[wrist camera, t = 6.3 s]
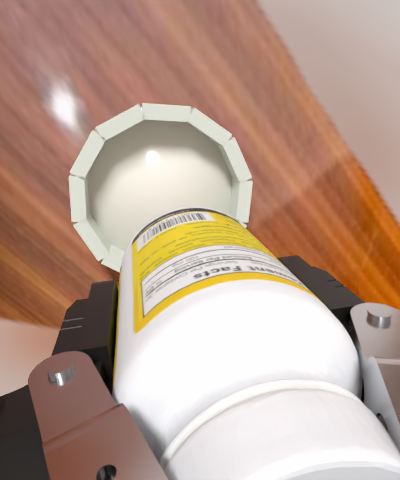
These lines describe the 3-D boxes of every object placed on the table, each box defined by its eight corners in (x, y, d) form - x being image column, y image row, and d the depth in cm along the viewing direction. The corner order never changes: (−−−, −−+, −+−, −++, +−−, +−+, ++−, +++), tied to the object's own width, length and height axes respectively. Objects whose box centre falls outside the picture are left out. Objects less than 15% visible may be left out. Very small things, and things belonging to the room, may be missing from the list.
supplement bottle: (214, 344, 15) (334, 688, 6) (96, 299, 13) (19, 684, 4) (281, 240, 14) (554, 471, 5) (161, 175, 12) (242, 350, 3)
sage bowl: (40, 157, 25) (29, 163, 23) (196, 73, 25) (204, 68, 23) (132, 292, 30) (132, 309, 28) (263, 221, 30) (276, 232, 28)
